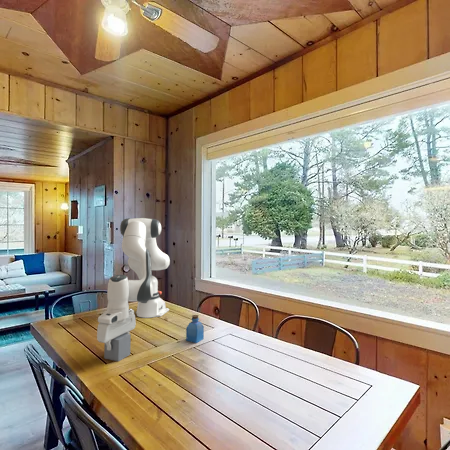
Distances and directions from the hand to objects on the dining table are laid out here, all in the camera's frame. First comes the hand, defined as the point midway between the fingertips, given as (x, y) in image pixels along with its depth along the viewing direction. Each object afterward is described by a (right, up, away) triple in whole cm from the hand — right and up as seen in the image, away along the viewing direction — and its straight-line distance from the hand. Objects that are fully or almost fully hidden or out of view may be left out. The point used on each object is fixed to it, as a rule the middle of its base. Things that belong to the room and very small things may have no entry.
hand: (117, 345), depth 131 cm
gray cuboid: (0, -5, 0) cm, 5 cm away
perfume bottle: (+31, -5, +20) cm, 38 cm away
